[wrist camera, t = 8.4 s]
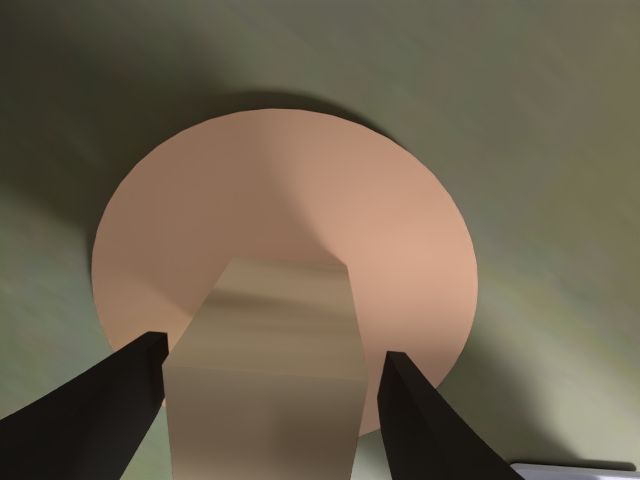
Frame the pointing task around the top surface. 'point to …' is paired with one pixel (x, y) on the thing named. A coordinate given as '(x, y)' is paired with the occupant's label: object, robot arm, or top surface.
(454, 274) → the terracotta plate
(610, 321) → the top surface
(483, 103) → the top surface
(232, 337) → the birch block
